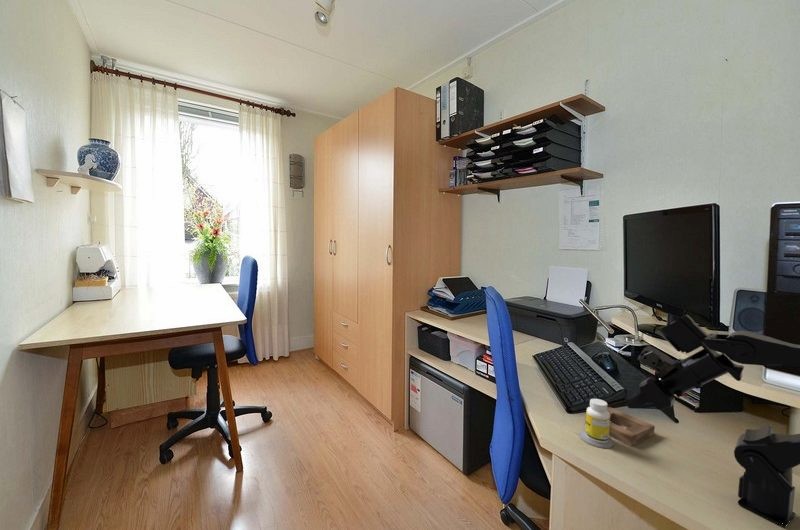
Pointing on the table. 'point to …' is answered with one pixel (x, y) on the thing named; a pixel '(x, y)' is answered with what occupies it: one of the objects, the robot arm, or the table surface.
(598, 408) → the supplement bottle
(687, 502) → the table surface
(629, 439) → the holder block
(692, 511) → the table surface
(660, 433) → the table surface
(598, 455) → the table surface
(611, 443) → the grey oval disc
